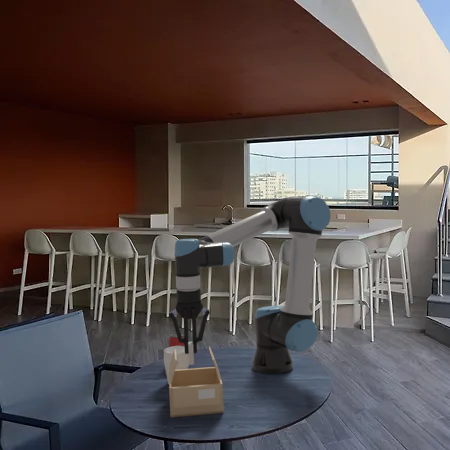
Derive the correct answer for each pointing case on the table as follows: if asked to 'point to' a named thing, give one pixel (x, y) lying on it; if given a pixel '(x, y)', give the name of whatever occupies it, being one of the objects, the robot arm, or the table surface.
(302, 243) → the robot arm
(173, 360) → the flap
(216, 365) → the flap
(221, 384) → the carton
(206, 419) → the table surface
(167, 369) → the cup
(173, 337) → the beer can
